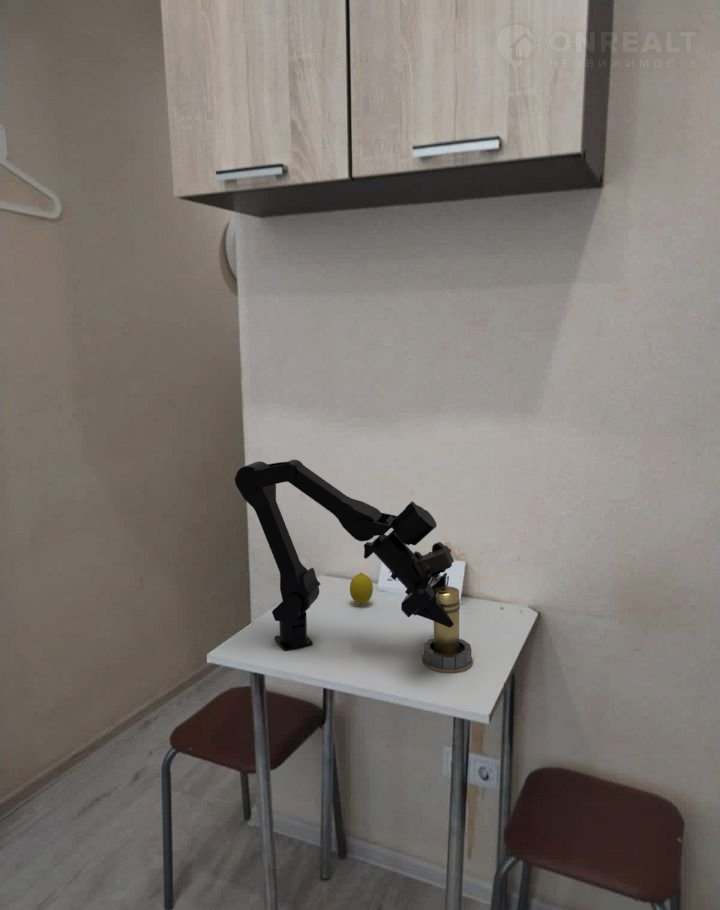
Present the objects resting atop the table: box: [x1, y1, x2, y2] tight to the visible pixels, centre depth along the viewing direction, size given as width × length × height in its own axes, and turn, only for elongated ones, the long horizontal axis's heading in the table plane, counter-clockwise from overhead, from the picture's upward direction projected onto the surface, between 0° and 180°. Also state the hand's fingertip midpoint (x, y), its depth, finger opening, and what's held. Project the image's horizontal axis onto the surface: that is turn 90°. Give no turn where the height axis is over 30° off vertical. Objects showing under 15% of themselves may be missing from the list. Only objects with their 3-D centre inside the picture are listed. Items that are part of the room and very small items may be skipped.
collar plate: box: [421, 653, 474, 674], centre depth 132 cm, size 10×10×1 cm
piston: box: [433, 585, 461, 655], centre depth 131 cm, size 5×5×14 cm
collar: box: [423, 637, 472, 670], centre depth 132 cm, size 9×9×2 cm
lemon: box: [349, 572, 374, 606], centre depth 161 cm, size 6×6×8 cm
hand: (454, 618), depth 130 cm, fingers open, 7 cm apart
